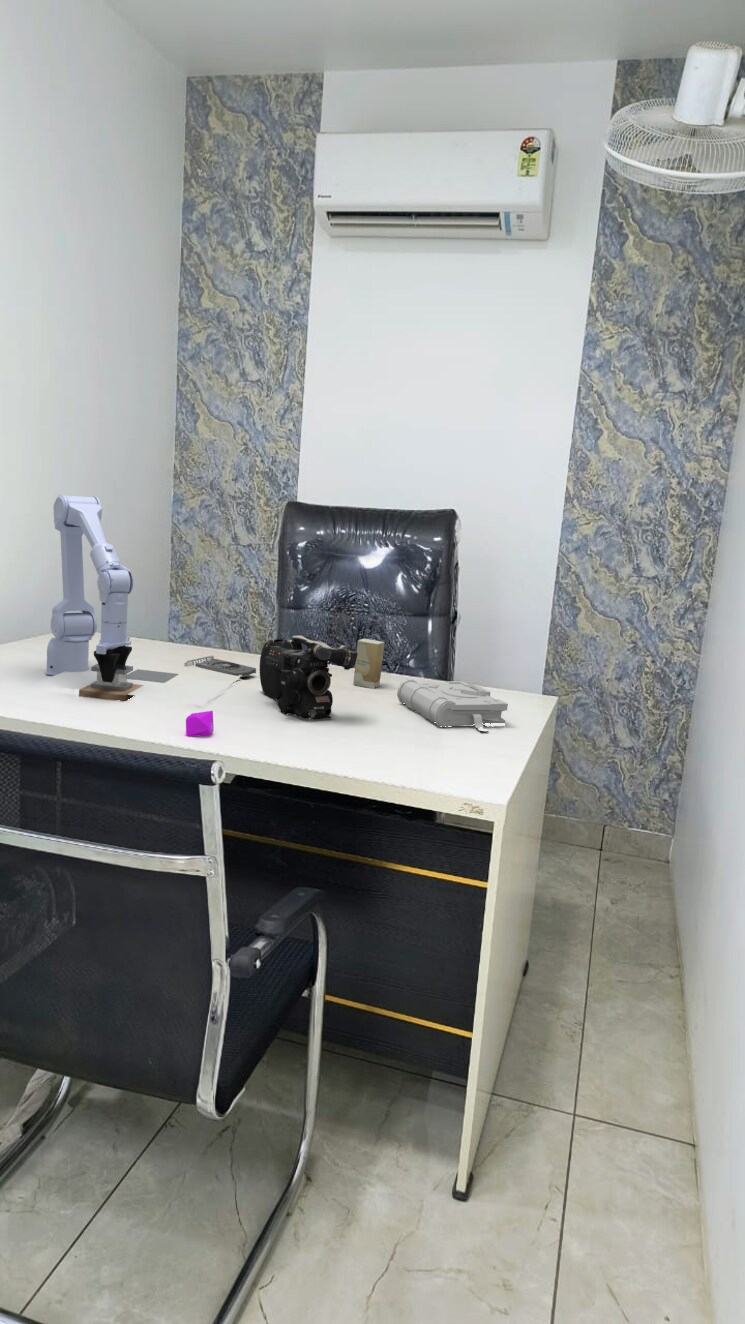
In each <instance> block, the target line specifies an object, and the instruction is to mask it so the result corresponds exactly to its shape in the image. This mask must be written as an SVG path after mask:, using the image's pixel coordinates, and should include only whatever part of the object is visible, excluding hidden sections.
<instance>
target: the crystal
mask: <svg viewBox="0 0 745 1324" xmlns="http://www.w3.org/2000/svg"><path fill="white" fill-rule="evenodd" d="M214 726H215V725H214V710H207V711H200V712H192V713H191V714H189V715H188V716H186V719H185V737H186V736H187V737H198V736H197V735H200V736H210V735H212V734H213V732H214V731H215V730H214V729H215V727H214Z"/></svg>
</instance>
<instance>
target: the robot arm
mask: <svg viewBox="0 0 745 1324" xmlns="http://www.w3.org/2000/svg"><path fill="white" fill-rule="evenodd" d="M102 516H103V505H102V502H101V500H100V499H99V497H98V496H83V495H82V496H80V495H66V494H59V495H58V496H57V497H56V499H55V500H54V504H53V523H54V529H55V530H57V531H59V532H60V534H59V535H60V550H61V551H60V552H61V553H60V554H61V575H62V576H61V577H62V596H63V598H62V600H60V601H59V602H58V603H57V604H55V606H53V607H52V611H51V619H50V630H51V633H52V636H53V637H52V638H50V640H49V641H48V644H47V648H46V672H45V673H44V674H45V675H47V676H57V675H60V674H61V673H64V672H66V673H67V672H69V673H76V672H77V673H80V672H81V673H82V672H86V671H88V670H89V656H90V655H89V653H90V651H89V650H90V648H89V647H90V641H92V639H93V637H94V636H95V634H96V633H97V631H98V630H97V629H98V621H97V617H96V613H95V607H94V606H93V605H92V604H90V603H89V602H88V601H86V599H85V582H84V581H85V580H84V579H85V578H84V560H83V559H84V558H83V535H84V536H85V538H86V539H87V541H88V543H89V545H90V546H91V550H90V553H89V555H90V558H91V561H92V563H93V564H92V565H93V566H94V568H95V571H96V573H97V575H98V577H97V580H96V583H97V588H98V594H99V596H98V597H99V601H100V602H101V611H100V613H101V615H100V617H101V619H100V639H99V641H98V643H97V645H96V646H95V647H96V648H95V650H94V651H93V657H94V658H95V660H96V662H97V664H98V665H99V668H100V672H101V677H102V681H103V682H112V681H113V677H114V671H115V666H116V664H117V665H126V664H127V661H128V658H129V656H130V654H131V652H132V651H133V646H131V645H132V641H130V637H131V635H127V633H128V632H127V629H128V606H129V605H128V603H129V602H128V601H129V598H128V597H129V594H131V593H132V591H133V587H134V578H133V574H132V571H131V570H130V569H129V568H127V567H126V566H125V565H122V562H121V560H120V558H119V555H118V554H117V551H116V549H115V547H114V545H112V544H111V543H108V542H107V538H106V535H105V532H104V528H103V526H102V522H101V520H102Z"/></svg>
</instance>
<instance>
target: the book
mask: <svg viewBox="0 0 745 1324" xmlns="http://www.w3.org/2000/svg"><path fill="white" fill-rule="evenodd" d="M396 695H397V699H398V702H399V703H400V704H402V705H404V704H403V703H405V704H406V705H405V706H406V707H408V708H409V709H410V708H411V709H410V710H412V711H413V712H415V710H416V711H418V712H417V713H419V714H420V715H422V714H423V715H422V716H423V718H425V719H427V720H428V719H429V720H428V721H430V722H431V721H432V722H431V723H433V722H436V723H435V725H436V726H438V727H439V726H442V727H445V726H446V727H448V726H453V727H461V726H460V725H473V724H475V726H474V727H475V729H476V728H480V727H484V726H483V724H485V723H490V724H491V723H505V724H506V720H505V719H504V718H502V714H503V712H505V711H508V708H509V707H508V706H509V705H508V703H507V702H506V701H503V700H502V699H500V698H499V699H497V698H494V697H492V696H491V691H489V690H487V689H485V688H483V687H482V686H480V685H478V684H469V683H467V682H465V681H461V680H460V681H459V680H457V681H456V680H452V681H444V682H442V681H441V682H437V681H435V682H432V681H430V682H429V681H428V682H427V681H426V682H425V681H424V682H423V681H420V682H419V681H417V680H414V679H409V678H408V679H405V680H403V681H402V682H401V683H400V684H399V687H398V688H397V692H396ZM482 723H483V724H482Z"/></svg>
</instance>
